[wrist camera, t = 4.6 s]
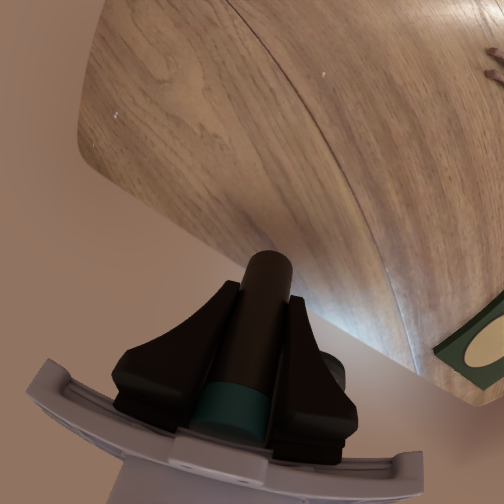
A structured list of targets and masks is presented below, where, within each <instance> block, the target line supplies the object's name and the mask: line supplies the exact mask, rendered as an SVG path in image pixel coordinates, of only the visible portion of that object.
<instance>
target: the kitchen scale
mask: <svg viewBox="0 0 504 504" xmlns="http://www.w3.org/2000/svg"><path fill="white" fill-rule="evenodd" d="M433 351H434V355H435V356H436V357H438V358H439V359H441V360H442V361H443V362H445V363H446V364H447V365H449V366H450V367H452V368H453V369H454V370H456V371H457V372H458V373H460V374H461V375H463V376H464V377H465V378H467V379H468V380H469V381H471V382H472V383H473V384H475V385H476V386H478V387H479V388H480V389H482V390H483V391H484V390H485V389H487V388H488V387H490V386H491V385H493V384H494V383H495V382H497V381H498V380H500V379H501V378H502V377H504V291H503V292H502V293H501V294H500V295H499V296H498V297H497V298H496V299H495V300H493V301H492V302H491V303H490V304H489V305H488V306H487V307H486V308H485V309H483V310H482V311H481V312H480V313H479V314H478V315H476V316H475V317H474V318H473V319H472V320H471V321H469V322H468V323H467V324H466V325H464V326H463V327H462V328H461V329H459V330H458V331H457V332H455V333H454V334H453V335H451V336H450V337H449V338H447V339H446V340H445V341H443V342H442V343H441V344H439V345H438V346H436V347H435V348H434V349H433Z"/></svg>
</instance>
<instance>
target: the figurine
mask: <svg viewBox="0 0 504 504" xmlns="http://www.w3.org/2000/svg"><path fill="white" fill-rule="evenodd" d="M488 54H489V55H494V56H498V57H500V58H502V59H503V60H504V53H502V52H501V51H500V50H499V49H497V48H490V49H488ZM486 75H487V76H488V77H490V78H494V79H498V80H500V81H502V82H503V83H504V75H501V74H499V73H498V72H497V71H496V70H489V71H487V72H486Z"/></svg>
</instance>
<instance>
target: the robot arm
mask: <svg viewBox="0 0 504 504" xmlns="http://www.w3.org/2000/svg"><path fill="white" fill-rule="evenodd" d="M239 289H240V283H239V282H234V281H230V280H228V281H226V282H225V283H224V285H223V286H222V287H221V288H220V289H219V290H218V292H217V293H216V294H215V295H214V296H213V297H212V298H211V299H210V300H209V301H208V302H207V303H206V304H205V305H204V306H202V307H201V308H200V309H199V310H198V311H197V312H195V313H194V314H193V315H192V316H191V317H189V318H188V319H187V320H185V321H184V322H183V323H181V324H180V325H178V326H177V327H175V328H173V329H172V330H170V331H169V332H167V333H165V334H163V335H162V336H160V337H157V338H156V339H153V340H151V341H149V342H147V343H145V344H142V345H140V346H137V347H135V348H132V349H129V350H127V351H126V352H125V353H124V355H123V356H122V357H121V358H120V360H119V361H118V363H117V365H116V366H115V368H114V370H113V371H112V374H111V375H112V378H113V381H114V383H115V385H116V386H117V388H118V390H119V393H118V395H117V397H116V399H115V400H113V399H111V398H109V397H107V396H105V395H103V394H101V393H99V392H97V391H95V390H93V389H91V388H89V387H88V386H86V385H84V384H82V383H80V382H78V381H77V380H75V379H73V378H72V377H71V375H70V374H69V372H68V371H67V370H66V369H65V368H64V367H62V366H61V365H59V364H57V363H56V362H54V361H53V360H51V359H47V360H46V362H45V363H44V365H43V366H42V367H41V369H40V370H39V372H38V373H37V375H36V376H35V378H34V379H33V381H32V382H31V384H30V385H29V387H28V388H27V390H26V391H25V393H26V395H27V396H28V397H29V398H30V399H31V400H32V401H33V402H34V403H35V404H36V405H37V406H38V407H39V408H40V409H41V410H42V411H43V412H45V413H46V414H47V415H48V416H50V417H51V418H52V419H54V420H55V421H57V422H58V423H60V424H61V425H63V426H64V427H66V428H67V429H69V430H70V431H72V432H73V433H75V434H76V435H78V436H79V437H81V438H83V439H84V440H86V441H88V442H89V443H91V444H93V445H94V446H96V447H98V448H99V449H101V450H103V451H105V452H107V453H108V454H110V455H112V456H114V457H116V458H118V459H120V460H122V461H124V463H123V465H122V468H121V470H120V472H119V474H118V477H117V479H116V482H115V484H114V486H113V489H112V491H111V493H110V496H109V498H108V501H107V503H106V504H388V503H395V502H398V501H402V500H406V499H409V498H412V497H415V496H418V495H421V494H423V493H424V475H423V452H422V451H413V452H403V453H400V454H397V455H395V456H394V457H393V458H342V448H344V447H345V439H347V438H348V437H349V436H351V435H352V434H353V433H354V432H355V431H356V430H357V429H358V415H357V409H356V406H355V405H354V403H353V402H352V401H351V400H350V399H349V398H348V397H347V395H346V394H345V393H344V391H343V390H342V389H341V387H340V386H339V384H338V381H337V380H336V379H335V378H334V376H333V375H332V373H331V372H330V370H329V368H328V366H327V365H326V363H325V361H324V359H323V357H322V355H321V352H320V350H319V348H318V346H317V343H316V341H315V338H314V335H313V332H312V329H311V326H310V323H309V319H308V316H307V311H306V307H305V301H304V298H303V297H298V296H294V295H291V296H290V299H289V302H288V306H287V313H286V320H285V328H284V334H283V341H282V347H281V353H280V358H279V364H278V370H277V375H276V381H275V386H274V392H273V397H272V402H271V404H272V410H271V415H270V420H269V425H268V430H267V435H266V439H265V443H264V445H263V446H261V447H253V446H248V445H244V444H239V443H235V442H231V441H227V440H223V439H219V438H215V437H212V436H208V435H205V434H201V433H198V432H195V431H192V430H191V429H190V428H189V425H188V424H189V420H190V418H191V415H192V412H193V409H194V407H195V404H196V401H197V399H198V396H199V393H200V390H201V388H202V387H203V386H204V384H205V381H206V378H207V375H208V373H209V370H210V367H211V364H212V362H213V359H214V356H215V353H216V351H217V348H218V345H219V343H220V340H221V337H222V334H223V332H224V329H225V326H226V323H227V321H228V318H229V316H230V313H231V311H232V308H233V306H234V304H235V301H236V298H237V295H238V293H239Z"/></svg>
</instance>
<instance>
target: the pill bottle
mask: <svg viewBox="0 0 504 504" xmlns="http://www.w3.org/2000/svg"><path fill="white" fill-rule="evenodd" d="M292 274H293V268H292V265H291V262H290V261H289V260H288V258H287V257H286V256H284V255H283V254H281V253H279V252H276V251H272V250H265V251H261V252H258V253H256V254H255V255H253V256H252V258H251V259H250V261H249V263H248V266H247V269H246V271H245V274H244V277H243V280H242V282H241V285H240V289H239V293H238V295H237V298H236V301H235V304H234V306H233V308H232V311H231V313H230V316H229V318H228V321H227V323H226V326H225V329H224V332H223V334H222V337H221V340H220V343H219V345H218V348H217V351H216V353H215V356H214V359H213V362H212V364H211V367H210V370H209V373H208V375H207V378H206V381H205V384H204V386H203V387H202V388H201V390H200V393H199V396H198V399H197V401H196V404H195V407H194V409H193V412H192V415H191V418H190V420H189V424H188V425H189V428H190V429H191V430H192V431H195V432H198V433H201V434H205V435H208V436H212V437H215V438H219V439H223V440H227V441H231V442H235V443H239V444H244V445H248V446H253V447H261V446H263V445H264V443H265V439H266V435H267V430H268V425H269V420H270V415H271V410H272V404H271V402H272V397H273V392H274V386H275V381H276V375H277V370H278V364H279V358H280V353H281V347H282V341H283V334H284V328H285V320H286V313H287V306H288V302H289V295H290V288H291V281H292Z"/></svg>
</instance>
